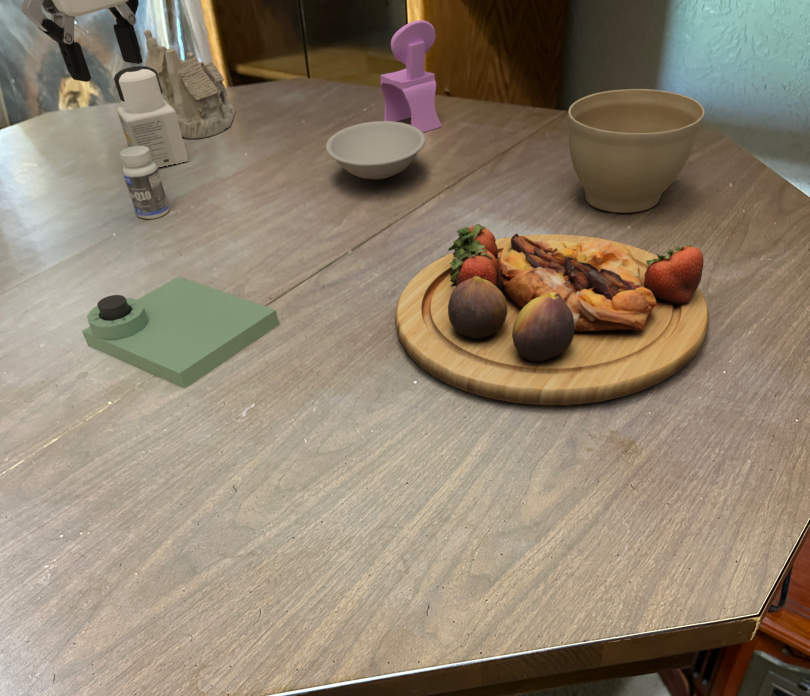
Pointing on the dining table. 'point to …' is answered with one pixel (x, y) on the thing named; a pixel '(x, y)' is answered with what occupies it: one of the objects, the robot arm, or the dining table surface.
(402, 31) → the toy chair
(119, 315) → the button
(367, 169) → the dish
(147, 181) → the pill bottle
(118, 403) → the dining table surface
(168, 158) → the container
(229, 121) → the ceramic cottage
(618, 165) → the planter bowl
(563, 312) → the wooden plate
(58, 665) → the dining table surface
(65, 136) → the dining table surface
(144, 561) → the dining table surface
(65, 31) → the robot arm
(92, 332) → the scale
